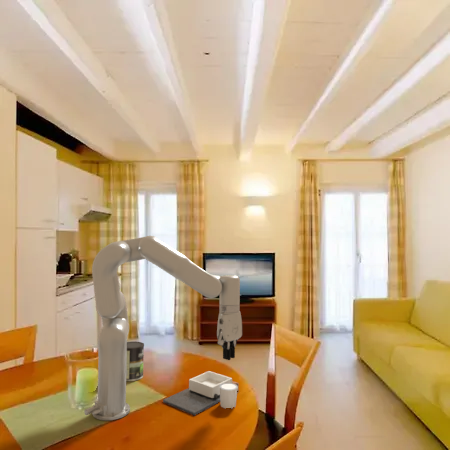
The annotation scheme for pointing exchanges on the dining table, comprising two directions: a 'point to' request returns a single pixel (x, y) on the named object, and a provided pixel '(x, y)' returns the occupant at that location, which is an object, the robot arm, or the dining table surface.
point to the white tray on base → (208, 383)
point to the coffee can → (134, 361)
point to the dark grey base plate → (192, 401)
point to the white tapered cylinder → (228, 395)
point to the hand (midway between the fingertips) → (228, 357)
